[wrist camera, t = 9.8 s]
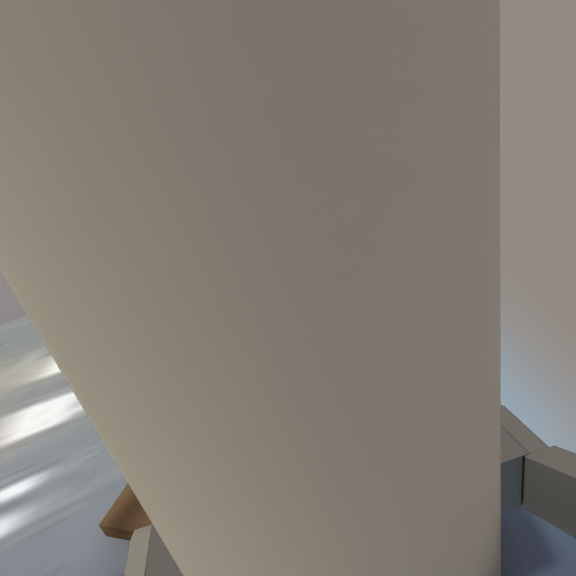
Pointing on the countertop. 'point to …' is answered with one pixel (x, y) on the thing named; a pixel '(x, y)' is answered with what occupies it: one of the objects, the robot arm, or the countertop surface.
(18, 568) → the countertop surface
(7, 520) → the countertop surface
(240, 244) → the cylindrical container
